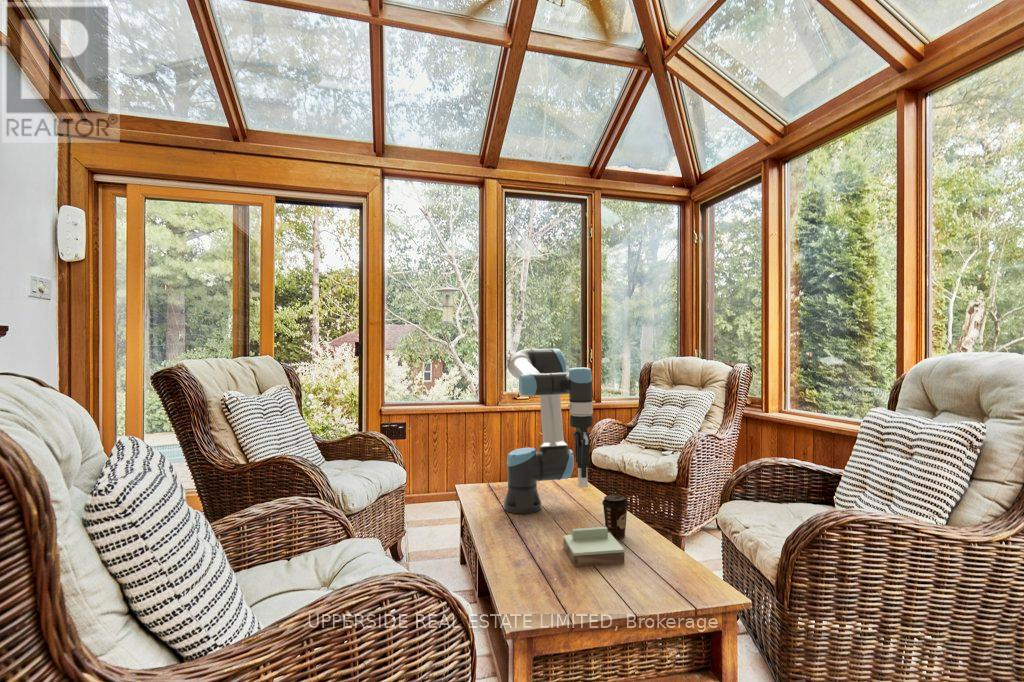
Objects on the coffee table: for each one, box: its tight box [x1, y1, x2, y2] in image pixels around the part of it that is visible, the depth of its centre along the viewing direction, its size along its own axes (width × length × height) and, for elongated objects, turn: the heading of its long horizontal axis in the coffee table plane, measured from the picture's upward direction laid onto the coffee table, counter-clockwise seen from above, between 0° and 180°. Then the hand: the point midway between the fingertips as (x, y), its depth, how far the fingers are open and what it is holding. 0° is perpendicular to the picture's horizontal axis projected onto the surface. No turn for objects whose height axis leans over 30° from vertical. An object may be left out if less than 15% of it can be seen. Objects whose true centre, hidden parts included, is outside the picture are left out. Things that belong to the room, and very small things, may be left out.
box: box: [563, 539, 626, 568], centre depth 154 cm, size 14×15×3 cm
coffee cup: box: [601, 494, 629, 540], centre depth 169 cm, size 9×8×13 cm
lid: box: [563, 526, 625, 556], centre depth 154 cm, size 14×15×4 cm
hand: (583, 486), depth 164 cm, fingers closed
